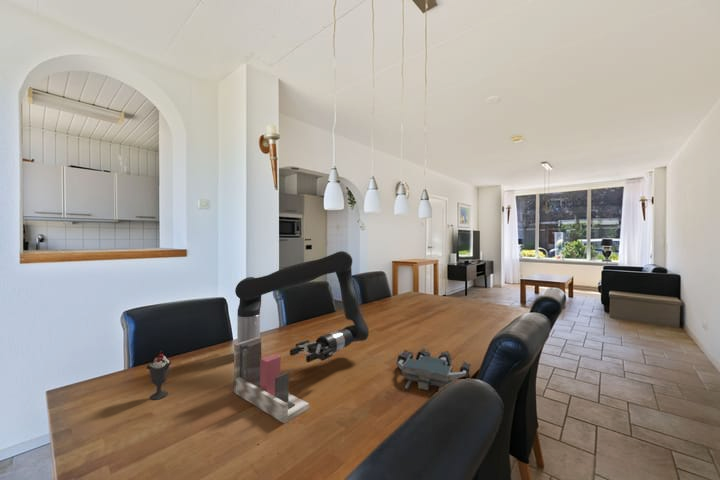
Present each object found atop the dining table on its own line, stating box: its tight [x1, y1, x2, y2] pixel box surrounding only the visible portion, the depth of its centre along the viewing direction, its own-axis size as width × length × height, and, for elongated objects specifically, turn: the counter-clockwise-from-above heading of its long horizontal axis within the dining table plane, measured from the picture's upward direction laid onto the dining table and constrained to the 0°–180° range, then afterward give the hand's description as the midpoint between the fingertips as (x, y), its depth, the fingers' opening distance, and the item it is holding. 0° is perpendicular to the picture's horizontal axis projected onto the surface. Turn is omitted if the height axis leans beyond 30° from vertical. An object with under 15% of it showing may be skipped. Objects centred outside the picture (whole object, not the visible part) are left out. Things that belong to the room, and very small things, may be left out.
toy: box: [396, 348, 472, 391], centre depth 112 cm, size 27×9×30 cm
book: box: [260, 353, 282, 396], centre depth 94 cm, size 4×5×12 cm
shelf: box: [233, 336, 310, 424], centre depth 94 cm, size 26×9×16 cm, turn 53°
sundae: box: [146, 350, 172, 401], centre depth 95 cm, size 7×7×15 cm
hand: (298, 356), depth 103 cm, fingers open, 8 cm apart
